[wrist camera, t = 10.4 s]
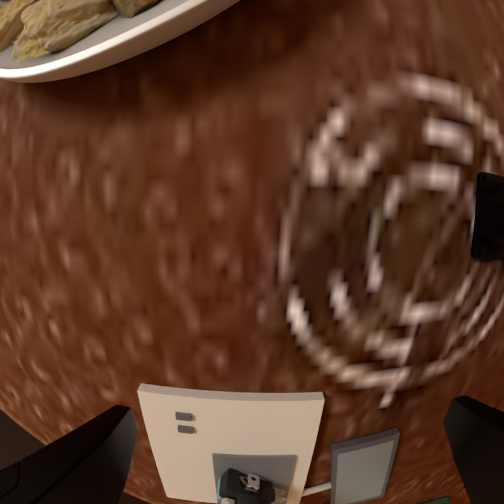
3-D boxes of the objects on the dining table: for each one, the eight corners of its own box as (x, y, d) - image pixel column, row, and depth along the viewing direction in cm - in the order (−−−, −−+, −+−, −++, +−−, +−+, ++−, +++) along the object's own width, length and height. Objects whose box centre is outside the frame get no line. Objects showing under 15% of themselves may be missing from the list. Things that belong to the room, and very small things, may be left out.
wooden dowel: (350, 472, 24) (352, 477, 23) (352, 476, 24) (354, 482, 23) (230, 502, 25) (230, 508, 24) (234, 506, 25) (234, 511, 25)
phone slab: (397, 427, 22) (400, 433, 22) (381, 491, 25) (383, 497, 24) (330, 444, 23) (332, 450, 22) (329, 504, 25) (330, 509, 24)
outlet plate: (322, 391, 21) (325, 402, 20) (298, 497, 25) (299, 506, 23) (141, 383, 21) (135, 393, 20) (168, 490, 25) (166, 499, 24)
